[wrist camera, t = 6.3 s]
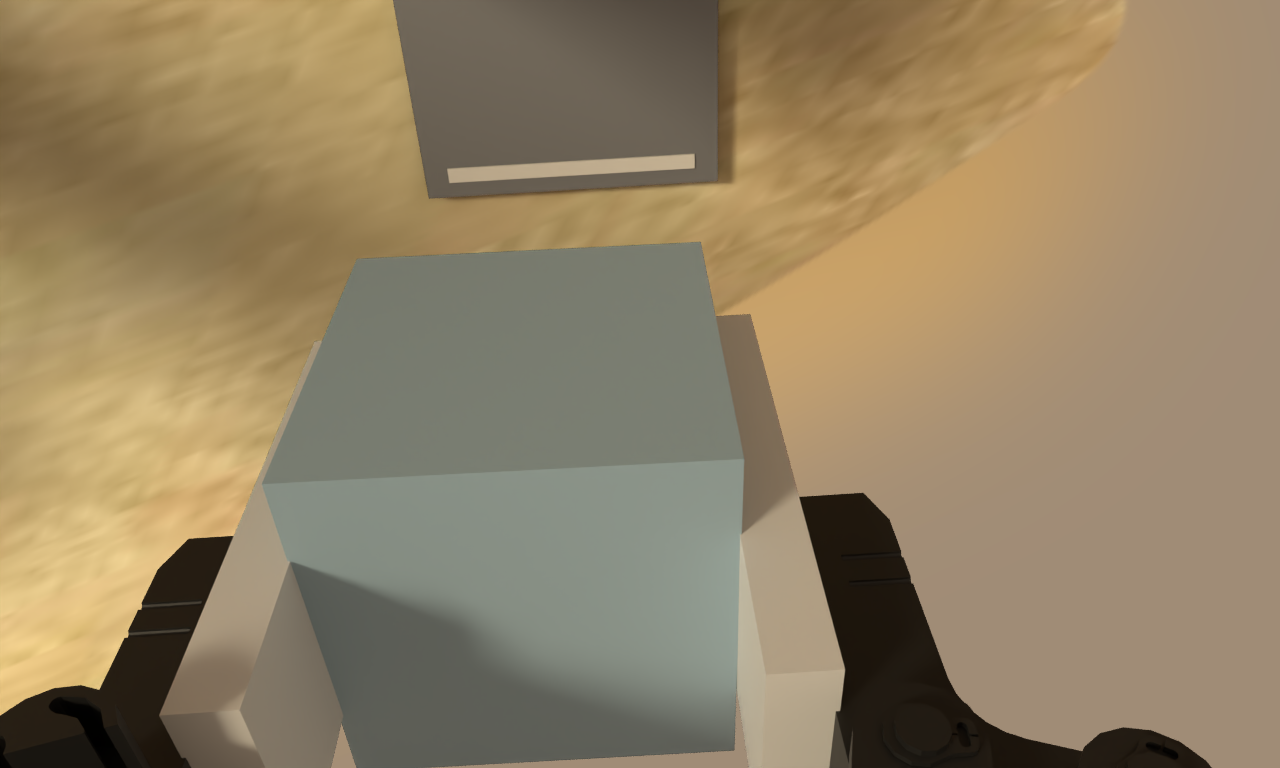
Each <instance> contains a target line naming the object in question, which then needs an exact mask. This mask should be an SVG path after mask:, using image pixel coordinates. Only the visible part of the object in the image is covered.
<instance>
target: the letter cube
mask: <svg viewBox="0 0 1280 768" xmlns="http://www.w3.org/2000/svg"><path fill="white" fill-rule="evenodd" d="M743 483H744V455H743V450H742V445H741V440H740V435H739V430H738V425H737V420H736V415H735V410H734V405H733V400H732V395H731V390H730V385H729V380H728V375H727V371H726V366H725V361H724V356H723V351H722V346H721V341H720V336H719V331H718V326H717V321H716V316H715V311H714V306H713V301H712V296H711V291H710V286H709V281H708V276H707V271H706V266H705V261H704V256H703V251H702V246H701V242H690V243H670V244H650V245H629V246H609V247H589V248H568V249H548V250H527V251H507V252H487V253H466V254H446V255H426V256H405V257H385V258H365V259H357V260H356V262H355V265H354V267H353V270H352V272H351V274H350V277H349V279H348V281H347V284H346V286H345V288H344V291H343V293H342V295H341V298H340V300H339V303H338V305H337V307H336V310H335V312H334V314H333V317H332V319H331V321H330V324H329V326H328V329H327V331H326V333H325V336H324V338H323V340H322V343H321V345H320V347H319V350H318V352H317V354H316V357H315V359H314V362H313V364H312V366H311V369H310V371H309V373H308V376H307V378H306V380H305V383H304V385H303V388H302V390H301V392H300V395H299V397H298V399H297V402H296V404H295V406H294V409H293V411H292V413H291V416H290V418H289V421H288V423H287V425H286V428H285V430H284V432H283V435H282V437H281V439H280V442H279V444H278V447H277V449H276V451H275V454H274V456H273V458H272V461H271V463H270V465H269V468H268V470H267V473H266V475H265V477H264V480H263V482H262V487H263V490H264V493H265V496H266V499H267V502H268V505H269V508H270V511H271V514H272V517H273V520H274V523H275V526H276V529H277V532H278V535H279V538H280V541H281V544H282V547H283V550H284V553H285V556H286V559H287V561H290V563H291V566H292V569H293V572H294V574H295V577H296V580H297V583H298V586H299V589H300V592H301V595H302V598H303V600H304V603H305V606H306V609H307V612H308V615H309V618H310V621H311V624H312V626H313V629H314V632H315V635H316V638H317V641H318V644H319V647H320V650H321V652H322V655H323V658H324V661H325V664H326V667H327V670H328V673H329V675H330V678H331V681H332V684H333V687H334V690H335V693H336V696H337V699H338V701H339V704H340V707H341V710H342V713H343V719H342V726H343V729H344V732H345V735H346V738H347V741H348V744H349V747H350V750H351V753H352V756H353V759H354V762H355V765H356V767H357V768H430V767H448V766H466V765H484V764H502V763H519V762H537V761H555V760H571V759H572V760H573V759H591V758H609V757H627V756H644V755H662V754H679V753H697V752H715V751H733V750H734V744H735V716H736V715H735V714H736V687H737V657H738V613H739V563H740V534H742V512H743Z"/></svg>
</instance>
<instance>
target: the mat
mask: <svg viewBox="0 0 1280 768" xmlns="http://www.w3.org/2000/svg"><path fill="white" fill-rule="evenodd" d="M393 3H394V8H395V14H396V19H397V25H398V30H399V36H400V41H401V47H402V52H403V58H404V63H405V69H406V74H407V80H408V85H409V91H410V97H411V102H412V108H413V113H414V119H415V124H416V130H417V135H418V141H419V146H420V152H421V157H422V163H423V168H424V174H425V179H426V185H427V190H428V196H429V198H446V197H462V196H479V195H495V194H512V193H528V192H545V191H561V190H578V189H594V188H611V187H627V186H644V185H660V184H677V183H693V182H710V181H718V0H393Z"/></svg>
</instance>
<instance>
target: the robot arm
mask: <svg viewBox="0 0 1280 768" xmlns="http://www.w3.org/2000/svg"><path fill="white" fill-rule="evenodd" d="M716 321H717V326H718V331H719V336H720V341H721V346H722V351H723V356H724V361H725V366H726V371H727V375H728V380H729V385H730V390H731V395H732V400H733V405H734V410H735V415H736V420H737V425H738V430H739V435H740V440H741V445H742V450H743V455H744V483H743V512H742V534H740V563H739V613H738V657H737V687H736V688H737V695H738V701H739V708H740V714H741V721H742V728H743V734H744V741H745V747H746V753H747V760H748V767H749V768H1211V767H1210V765H1209V764H1208V763H1207V762H1206V760H1204V759H1203V758H1201V757H1200V756H1199V755H1197V754H1196V753H1195V752H1193V751H1192V750H1190V749H1189V748H1188V747H1186V746H1185V745H1184V744H1182V743H1181V742H1179V741H1176V740H1174V739H1171V738H1169V737H1166V736H1164V735H1161V734H1159V733H1156V732H1154V731H1151V730H1142V729H1132V728H1119V729H1115V730H1112V731H1107V732H1104V733H1100V734H1099V735H1098V736H1097V737H1095V738H1094V739H1093V740H1092V741H1091V742H1090V743H1089V744H1087V745H1086V746H1085V747H1084V749H1083V751H1078V750H1074V749H1069V748H1065V747H1060V746H1056V745H1051V744H1047V743H1042V742H1038V741H1033V740H1029V739H1025V738H1022V737H1019V736H1016V735H1013V734H1009V733H1006V732H1004V731H1002V730H1000V729H999V728H997V727H995V726H993V725H991V724H989V723H987V722H985V721H984V720H983V719H982V718H980V717H979V716H978V715H977V714H975V713H974V712H973V711H972V710H971V708H970V707H969V706H968V705H967V704H966V703H964V702H963V701H962V700H961V699H960V698H959V696H958V695H957V694H956V692H955V691H954V689H953V687H952V685H951V683H950V681H949V679H948V677H947V674H946V671H945V669H944V666H943V663H942V661H941V658H940V655H939V652H938V650H937V647H936V645H935V642H934V639H933V637H932V634H931V631H930V628H929V625H928V623H927V620H926V617H925V615H924V612H923V610H922V606H921V604H920V601H919V598H918V596H917V593H916V590H915V587H914V585H913V584H911V579H910V574H909V571H908V569H907V566H906V563H905V560H904V558H903V557H902V556H901V550H900V547H899V544H898V541H897V539H896V536H895V533H894V531H893V528H892V525H891V523H890V520H889V519H888V518H887V517H886V516H885V515H884V514H883V513H882V512H881V511H880V510H879V509H878V507H876V505H874V503H872V501H871V500H870V499H869V498H868V497H867V496H866V495H865V494H864V493H854V494H839V495H823V496H807V497H799V495H798V491H797V487H796V484H795V480H794V477H793V472H792V469H791V465H790V461H789V457H788V454H787V450H786V446H785V443H784V439H783V435H782V431H781V428H780V424H779V420H778V416H777V413H776V409H775V405H774V401H773V398H772V394H771V390H770V386H769V383H768V379H767V375H766V371H765V368H764V364H763V360H762V356H761V353H760V349H759V345H758V341H757V338H756V335H755V330H754V326H753V323H752V319H751V315H750V314H747V315H745V314H744V315H728V316H716ZM321 343H322V341H315V342H314V344H313V347H312V349H311V351H310V354H309V356H308V359H307V361H306V363H305V366H304V368H303V371H302V373H301V376H300V378H299V380H298V383H297V385H296V388H295V390H294V392H293V395H292V397H291V400H290V402H289V404H288V407H287V409H286V412H285V414H284V416H283V419H282V421H281V424H280V426H279V428H278V431H277V433H276V436H275V438H274V440H273V443H272V445H271V448H270V450H269V452H268V455H267V457H266V460H265V462H264V465H263V467H262V469H261V472H260V474H259V477H258V479H257V481H256V484H255V486H254V489H253V491H252V493H251V496H250V498H249V501H248V503H247V505H246V508H245V510H244V513H243V515H242V517H241V520H240V522H239V525H238V527H237V529H236V532H235V534H234V536H225V537H210V538H194V539H188V540H187V541H186V542H185V543H184V544H183V545H182V546H181V547H180V548H179V549H178V550H177V551H176V552H175V553H174V554H173V555H172V556H171V557H170V558H169V559H168V560H167V561H166V562H165V563H164V564H163V565H162V566H161V567H160V568H159V569H158V570H157V573H156V575H155V577H154V579H153V581H152V583H151V585H150V587H149V589H148V591H147V593H146V595H145V597H144V599H143V601H142V609H141V610H138V612H137V614H136V616H135V618H134V620H133V622H132V624H131V626H130V628H129V630H128V632H129V636H128V638H124V640H123V642H122V644H121V647H120V649H119V651H118V653H117V655H116V657H115V659H114V661H113V663H112V665H111V667H110V669H109V671H108V673H107V675H106V677H105V679H104V681H103V684H102V686H101V688H100V690H97V689H93V688H89V687H86V686H82V685H80V686H71V687H62V688H54V689H51V690H48V691H46V692H43V693H41V694H38V695H35V696H33V697H30V698H27V699H25V700H23V701H22V702H20V703H19V704H17V705H16V706H14V707H13V708H11V709H10V710H8V711H7V712H5V713H4V714H2V715H1V716H0V768H331V765H332V761H333V757H334V753H335V748H336V744H337V740H338V735H339V731H340V727H341V723H342V719H343V713H342V710H341V707H340V704H339V701H338V699H337V696H336V693H335V690H334V687H333V684H332V681H331V678H330V675H329V673H328V670H327V667H326V664H325V661H324V658H323V655H322V652H321V650H320V647H319V644H318V641H317V638H316V635H315V632H314V629H313V626H312V624H311V621H310V618H309V615H308V612H307V609H306V606H305V603H304V600H303V598H302V595H301V592H300V589H299V586H298V583H297V580H296V577H295V574H294V572H293V569H292V566H291V563H290V561H287V559H286V556H285V553H284V550H283V547H282V544H281V541H280V538H279V535H278V532H277V529H276V526H275V523H274V520H273V517H272V514H271V511H270V508H269V505H268V502H267V499H266V496H265V493H264V490H263V487H262V482H263V480H264V477H265V475H266V473H267V470H268V468H269V465H270V463H271V461H272V458H273V456H274V454H275V451H276V449H277V447H278V444H279V442H280V439H281V437H282V435H283V432H284V430H285V428H286V425H287V423H288V421H289V418H290V416H291V413H292V411H293V409H294V406H295V404H296V402H297V399H298V397H299V395H300V392H301V390H302V388H303V385H304V383H305V380H306V378H307V376H308V373H309V371H310V369H311V366H312V364H313V362H314V359H315V357H316V354H317V352H318V350H319V347H320V345H321Z"/></svg>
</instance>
